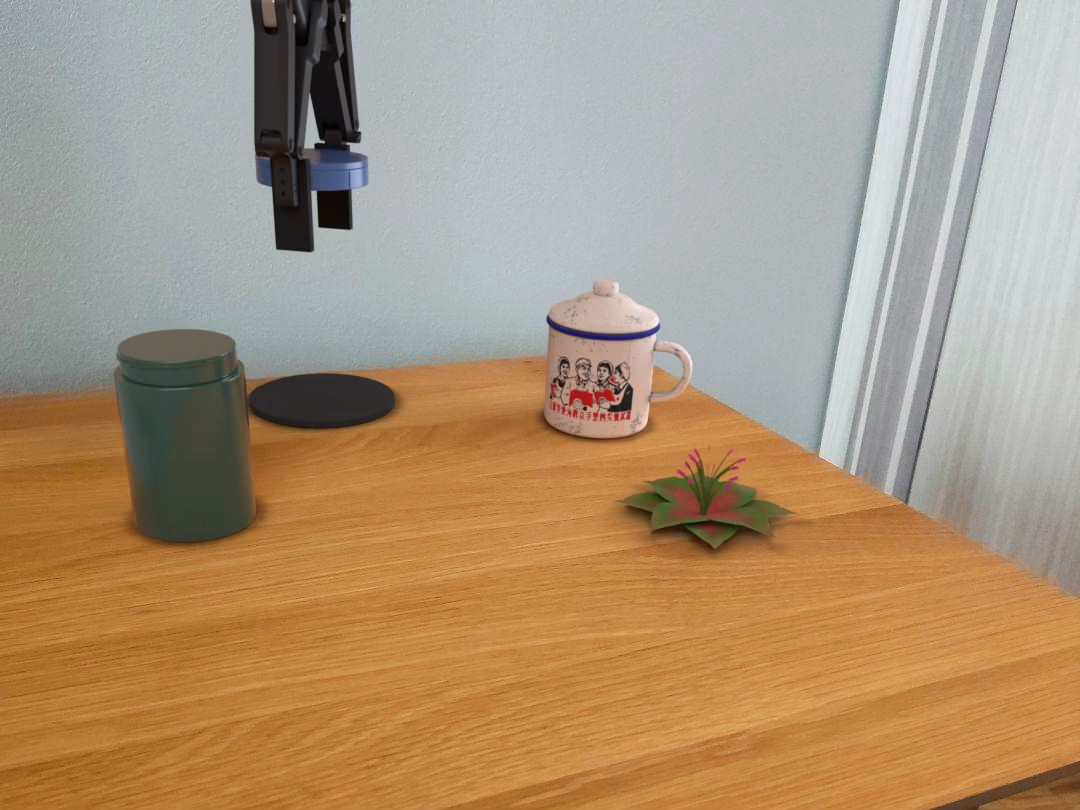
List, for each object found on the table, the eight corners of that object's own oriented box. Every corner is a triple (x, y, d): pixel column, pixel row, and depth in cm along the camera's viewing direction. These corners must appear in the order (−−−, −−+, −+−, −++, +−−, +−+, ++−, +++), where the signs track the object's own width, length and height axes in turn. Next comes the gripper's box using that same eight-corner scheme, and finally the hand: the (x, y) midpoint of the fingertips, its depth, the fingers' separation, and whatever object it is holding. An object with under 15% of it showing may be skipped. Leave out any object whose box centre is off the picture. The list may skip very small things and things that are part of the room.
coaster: (219, 401, 88) (218, 394, 88) (330, 370, 97) (330, 364, 96) (314, 440, 82) (313, 432, 81) (424, 403, 90) (424, 396, 90)
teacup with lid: (529, 432, 85) (536, 288, 80) (553, 397, 93) (561, 263, 88) (678, 452, 83) (695, 305, 78) (690, 414, 91) (706, 278, 86)
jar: (110, 516, 68) (84, 342, 63) (210, 482, 74) (194, 320, 69) (179, 554, 64) (157, 372, 59) (280, 516, 70) (268, 346, 64)
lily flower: (581, 508, 73) (585, 446, 71) (694, 467, 80) (701, 410, 78) (717, 575, 65) (726, 508, 63) (828, 523, 73) (839, 462, 71)
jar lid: (392, 184, 82) (391, 158, 81) (306, 195, 76) (305, 167, 75) (319, 170, 86) (318, 145, 85) (233, 178, 80) (231, 152, 80)
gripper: (295, -112, 63) (315, 271, 73) (395, -84, 82) (400, 218, 92) (176, -117, 64) (212, 263, 74) (302, -88, 82) (317, 212, 93)
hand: (316, 238), depth 83 cm, fingers closed on jar lid, 8 cm apart
